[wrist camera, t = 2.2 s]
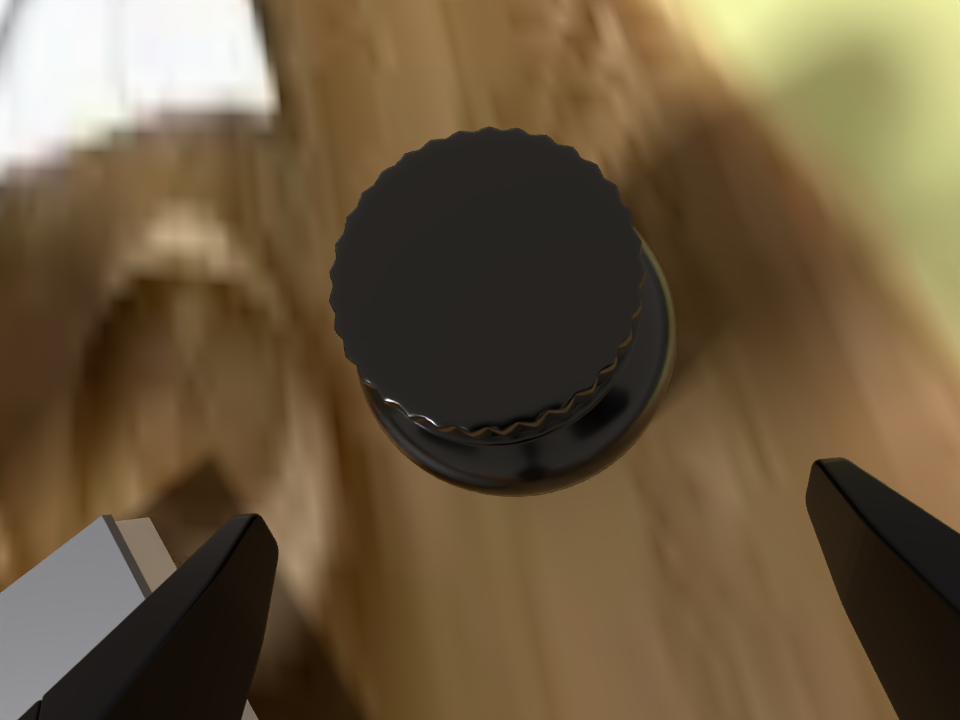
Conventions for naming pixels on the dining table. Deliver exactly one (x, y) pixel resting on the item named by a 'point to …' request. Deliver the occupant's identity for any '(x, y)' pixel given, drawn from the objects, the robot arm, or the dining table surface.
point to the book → (75, 606)
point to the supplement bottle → (503, 313)
